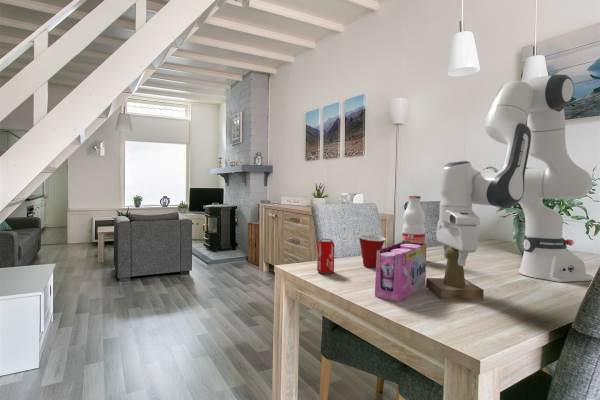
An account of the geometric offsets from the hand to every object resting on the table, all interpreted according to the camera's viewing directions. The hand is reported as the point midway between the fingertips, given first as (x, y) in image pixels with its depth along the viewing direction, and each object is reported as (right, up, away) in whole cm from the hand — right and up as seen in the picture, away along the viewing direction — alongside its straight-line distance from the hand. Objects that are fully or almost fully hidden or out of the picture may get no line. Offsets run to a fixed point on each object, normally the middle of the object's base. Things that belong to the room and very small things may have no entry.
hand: (453, 261), depth 104 cm
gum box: (-15, -10, +3) cm, 18 cm away
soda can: (-37, -9, +24) cm, 45 cm away
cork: (0, -7, 0) cm, 7 cm away
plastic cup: (-18, -8, +35) cm, 40 cm away
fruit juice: (+3, -8, +45) cm, 46 cm away
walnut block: (0, -10, 0) cm, 10 cm away
